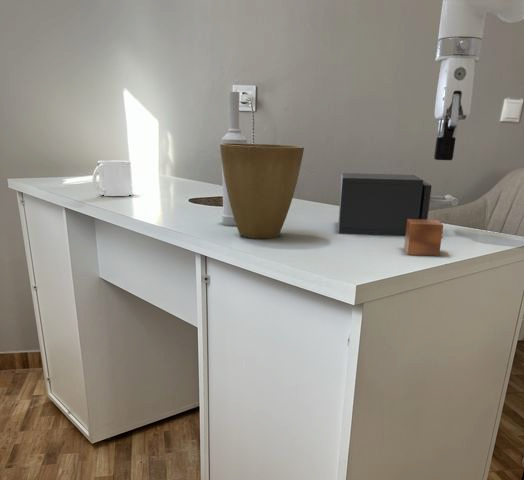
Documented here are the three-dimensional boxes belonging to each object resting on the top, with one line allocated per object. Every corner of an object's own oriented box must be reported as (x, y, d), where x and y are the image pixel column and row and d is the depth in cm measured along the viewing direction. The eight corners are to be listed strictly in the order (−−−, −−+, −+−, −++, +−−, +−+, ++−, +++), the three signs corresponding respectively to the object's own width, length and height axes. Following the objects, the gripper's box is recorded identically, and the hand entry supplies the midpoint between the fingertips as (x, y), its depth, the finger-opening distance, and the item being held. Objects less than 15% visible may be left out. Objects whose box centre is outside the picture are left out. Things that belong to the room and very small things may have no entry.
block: (434, 249, 94) (438, 219, 92) (439, 256, 89) (443, 224, 87) (403, 248, 94) (407, 218, 92) (407, 254, 90) (411, 223, 88)
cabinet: (408, 225, 118) (414, 174, 114) (416, 236, 106) (423, 180, 102) (338, 223, 119) (341, 173, 116) (338, 233, 108) (342, 177, 104)
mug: (123, 192, 167) (121, 160, 163) (138, 195, 160) (136, 161, 157) (85, 195, 159) (82, 161, 156) (99, 198, 153) (96, 162, 150)
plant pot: (233, 244, 95) (233, 145, 89) (212, 230, 108) (210, 142, 102) (313, 240, 100) (317, 146, 94) (283, 227, 113) (286, 143, 107)
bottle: (229, 221, 119) (228, 93, 110) (251, 223, 117) (252, 92, 108) (217, 224, 115) (215, 91, 105) (239, 226, 112) (239, 91, 103)
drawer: (445, 222, 116) (451, 181, 113) (456, 232, 105) (463, 186, 102) (352, 219, 118) (355, 178, 115) (354, 228, 107) (357, 183, 104)
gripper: (490, 46, 92) (472, 162, 99) (470, 57, 106) (455, 158, 113) (444, 46, 93) (429, 161, 100) (430, 56, 107) (417, 157, 114)
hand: (443, 159), depth 106 cm, fingers closed
